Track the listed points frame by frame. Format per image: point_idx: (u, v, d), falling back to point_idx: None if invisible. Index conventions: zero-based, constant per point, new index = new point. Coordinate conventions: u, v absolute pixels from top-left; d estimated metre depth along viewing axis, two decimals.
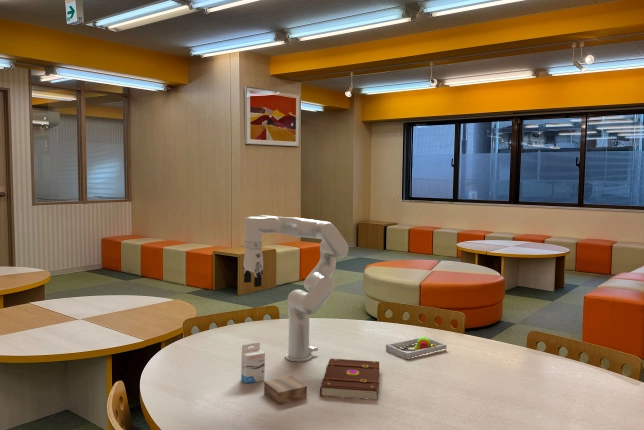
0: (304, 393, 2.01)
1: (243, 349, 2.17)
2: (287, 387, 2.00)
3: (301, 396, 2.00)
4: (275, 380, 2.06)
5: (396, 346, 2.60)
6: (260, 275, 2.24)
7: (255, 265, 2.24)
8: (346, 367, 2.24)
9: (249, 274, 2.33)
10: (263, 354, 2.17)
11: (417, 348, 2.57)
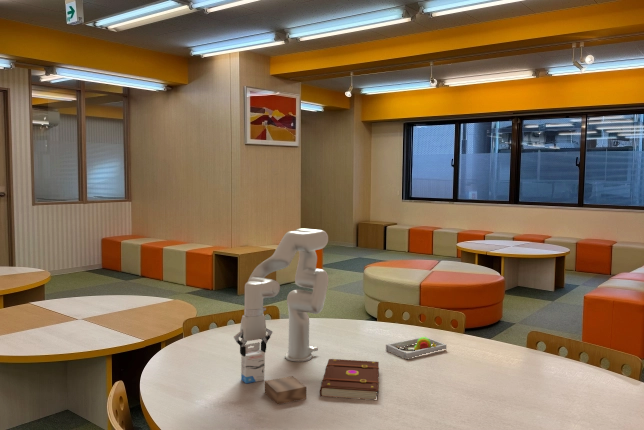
0: (303, 393, 2.00)
1: None
2: (286, 387, 2.00)
3: (301, 397, 2.00)
4: (276, 380, 2.06)
5: (396, 346, 2.60)
6: None
7: None
8: (345, 367, 2.23)
9: None
10: (263, 354, 2.17)
11: (417, 348, 2.57)
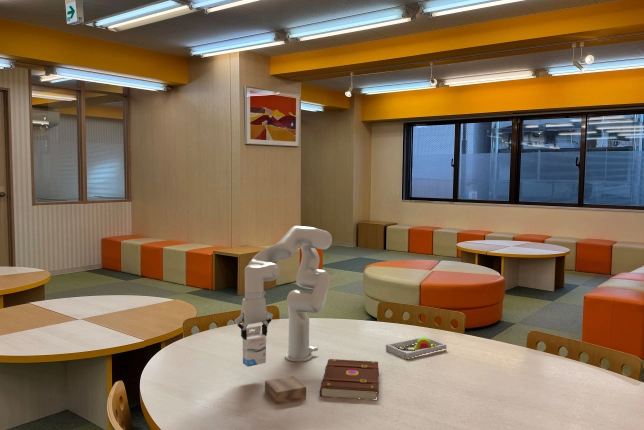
0: (303, 394, 2.00)
1: None
2: (286, 387, 2.00)
3: (300, 397, 1.99)
4: (276, 380, 2.06)
5: (396, 346, 2.60)
6: None
7: None
8: (345, 367, 2.23)
9: None
10: (264, 337, 2.17)
11: (417, 348, 2.57)
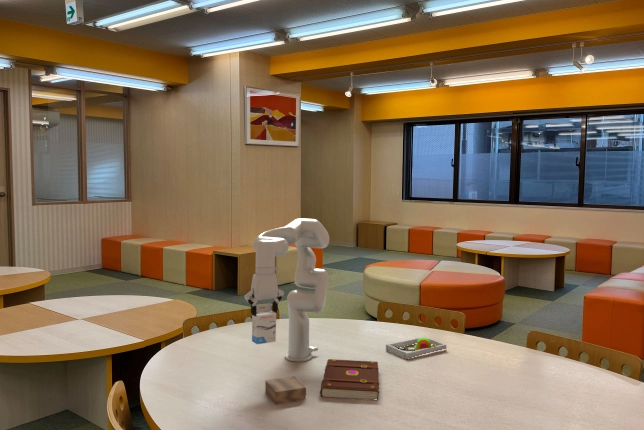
0: (303, 394, 2.00)
1: None
2: (286, 387, 2.00)
3: (300, 397, 1.99)
4: (276, 379, 2.06)
5: (396, 346, 2.60)
6: None
7: None
8: (345, 368, 2.23)
9: None
10: (274, 314, 2.10)
11: (417, 348, 2.57)
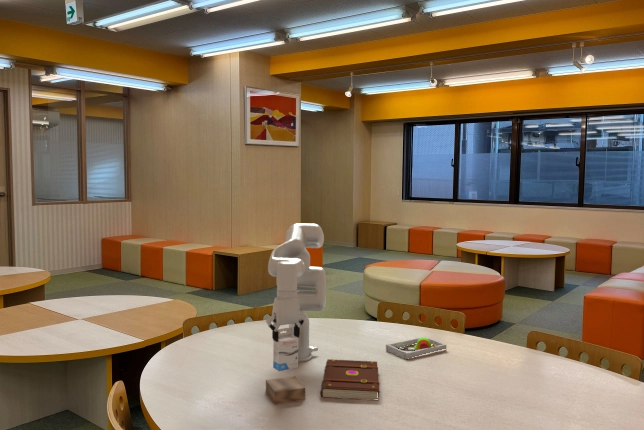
0: (302, 394, 1.99)
1: None
2: (285, 387, 2.00)
3: (300, 397, 1.99)
4: (277, 379, 2.07)
5: (396, 346, 2.60)
6: None
7: None
8: (345, 368, 2.23)
9: None
10: (297, 339, 2.01)
11: (417, 348, 2.57)
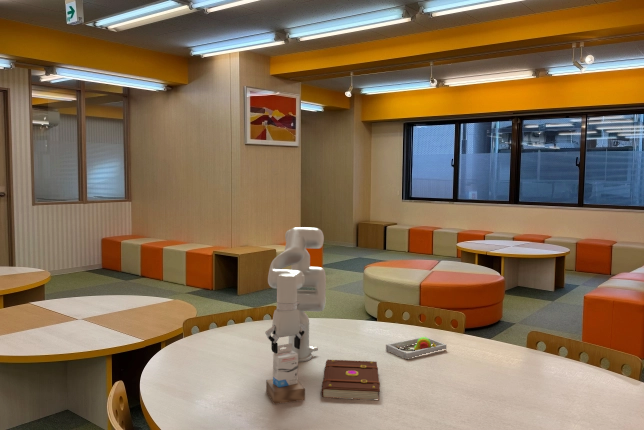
0: (302, 395, 1.99)
1: None
2: (285, 387, 2.00)
3: (299, 398, 1.99)
4: None
5: (396, 346, 2.60)
6: None
7: None
8: (344, 368, 2.23)
9: None
10: (296, 356, 2.02)
11: (417, 348, 2.57)
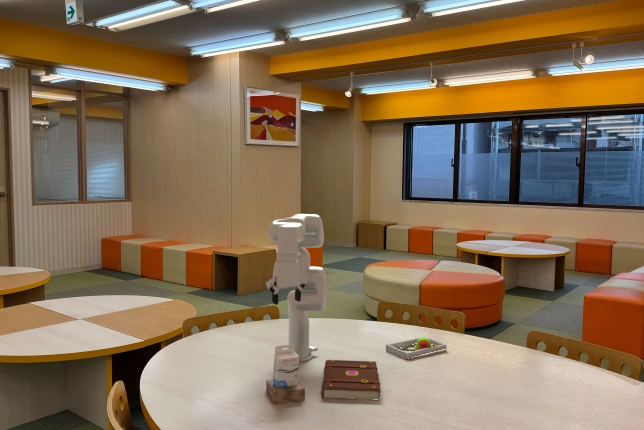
0: (302, 395, 1.99)
1: (276, 350, 2.01)
2: (285, 387, 1.99)
3: (299, 398, 1.98)
4: None
5: (396, 346, 2.60)
6: None
7: None
8: (344, 368, 2.23)
9: None
10: (297, 358, 2.00)
11: (417, 348, 2.57)
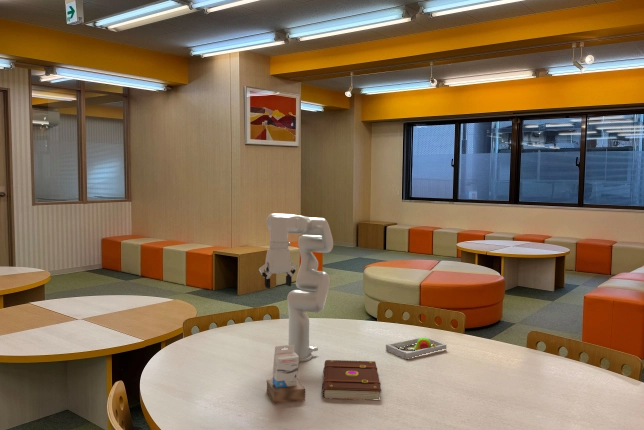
0: (302, 395, 1.99)
1: (276, 350, 2.01)
2: (285, 387, 1.99)
3: (299, 398, 1.99)
4: None
5: (396, 346, 2.60)
6: None
7: None
8: (344, 368, 2.22)
9: None
10: (297, 358, 2.00)
11: (417, 348, 2.57)
